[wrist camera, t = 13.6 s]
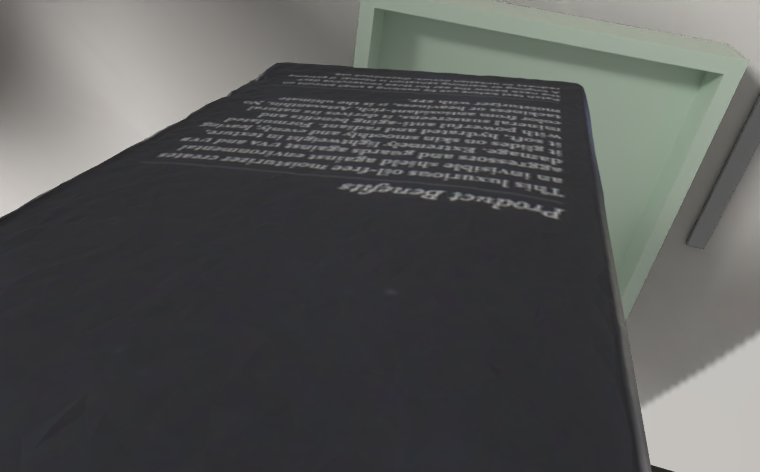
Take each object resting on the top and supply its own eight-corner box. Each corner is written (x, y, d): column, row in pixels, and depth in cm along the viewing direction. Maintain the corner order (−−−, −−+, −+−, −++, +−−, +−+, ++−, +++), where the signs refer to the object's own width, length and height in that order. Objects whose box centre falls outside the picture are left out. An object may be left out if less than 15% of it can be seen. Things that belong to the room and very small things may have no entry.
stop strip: (685, 243, 28) (686, 245, 28) (763, 86, 24) (765, 87, 24) (702, 246, 28) (703, 248, 28) (784, 89, 24) (785, 91, 24)
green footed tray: (351, 256, 34) (328, 300, 30) (387, -25, 26) (361, -12, 22) (594, 318, 32) (601, 373, 28) (717, 35, 24) (749, 61, 20)
